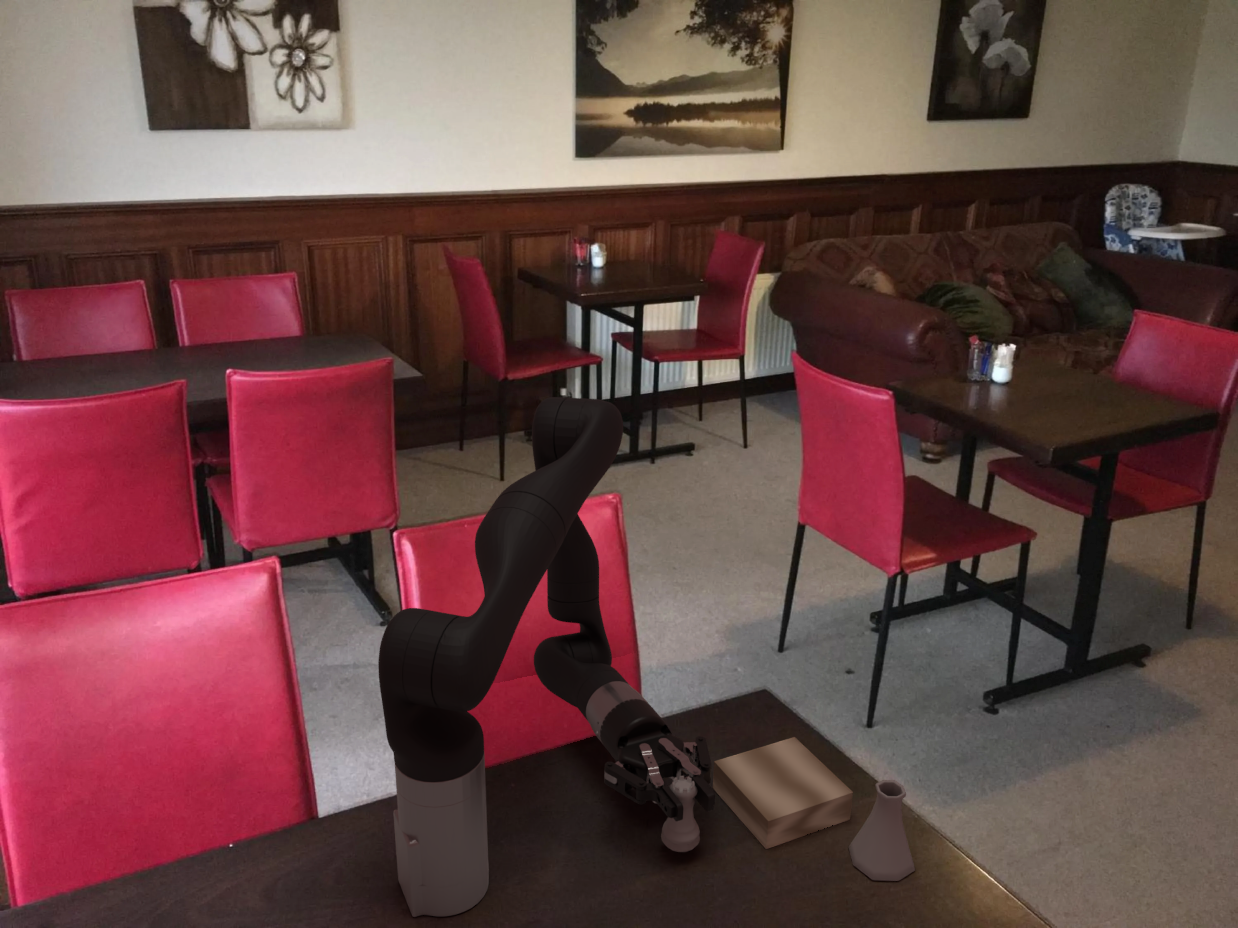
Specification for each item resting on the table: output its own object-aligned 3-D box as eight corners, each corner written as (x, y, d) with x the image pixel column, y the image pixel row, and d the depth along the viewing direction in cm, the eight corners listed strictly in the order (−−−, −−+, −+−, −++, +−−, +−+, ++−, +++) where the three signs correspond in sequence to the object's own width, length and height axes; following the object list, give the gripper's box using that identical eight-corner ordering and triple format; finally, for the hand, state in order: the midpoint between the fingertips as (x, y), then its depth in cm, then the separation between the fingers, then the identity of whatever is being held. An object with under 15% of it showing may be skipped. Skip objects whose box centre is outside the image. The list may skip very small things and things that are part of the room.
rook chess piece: (700, 828, 120) (704, 771, 117) (699, 855, 116) (703, 797, 113) (661, 825, 120) (664, 768, 117) (659, 852, 116) (662, 793, 113)
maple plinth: (766, 849, 119) (768, 820, 118) (712, 787, 129) (714, 761, 128) (849, 819, 124) (853, 792, 122) (792, 762, 134) (794, 736, 133)
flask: (837, 845, 120) (845, 774, 116) (892, 833, 122) (901, 762, 118) (869, 889, 113) (878, 815, 110) (926, 875, 115) (937, 803, 112)
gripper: (574, 711, 123) (640, 798, 109) (677, 685, 129) (752, 764, 115) (573, 764, 126) (637, 855, 111) (674, 735, 132) (748, 819, 117)
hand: (695, 808), depth 113 cm, fingers closed on rook chess piece, 3 cm apart
